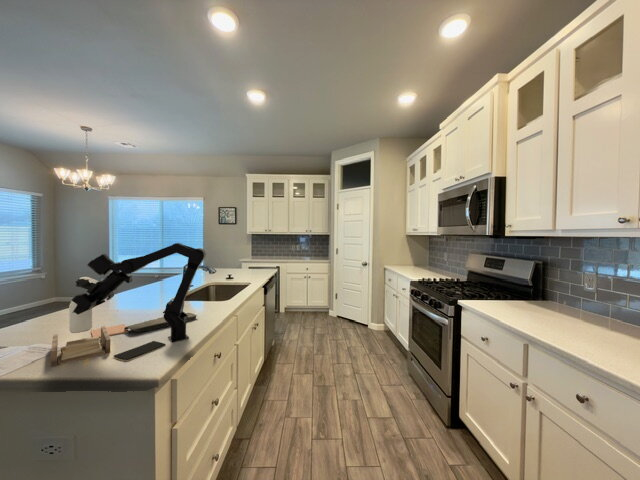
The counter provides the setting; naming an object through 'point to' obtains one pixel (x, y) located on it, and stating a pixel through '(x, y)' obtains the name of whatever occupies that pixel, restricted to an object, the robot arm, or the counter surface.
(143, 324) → the stone slab
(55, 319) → the counter surface
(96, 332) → the tile
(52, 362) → the rack
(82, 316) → the can
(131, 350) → the smartphone
